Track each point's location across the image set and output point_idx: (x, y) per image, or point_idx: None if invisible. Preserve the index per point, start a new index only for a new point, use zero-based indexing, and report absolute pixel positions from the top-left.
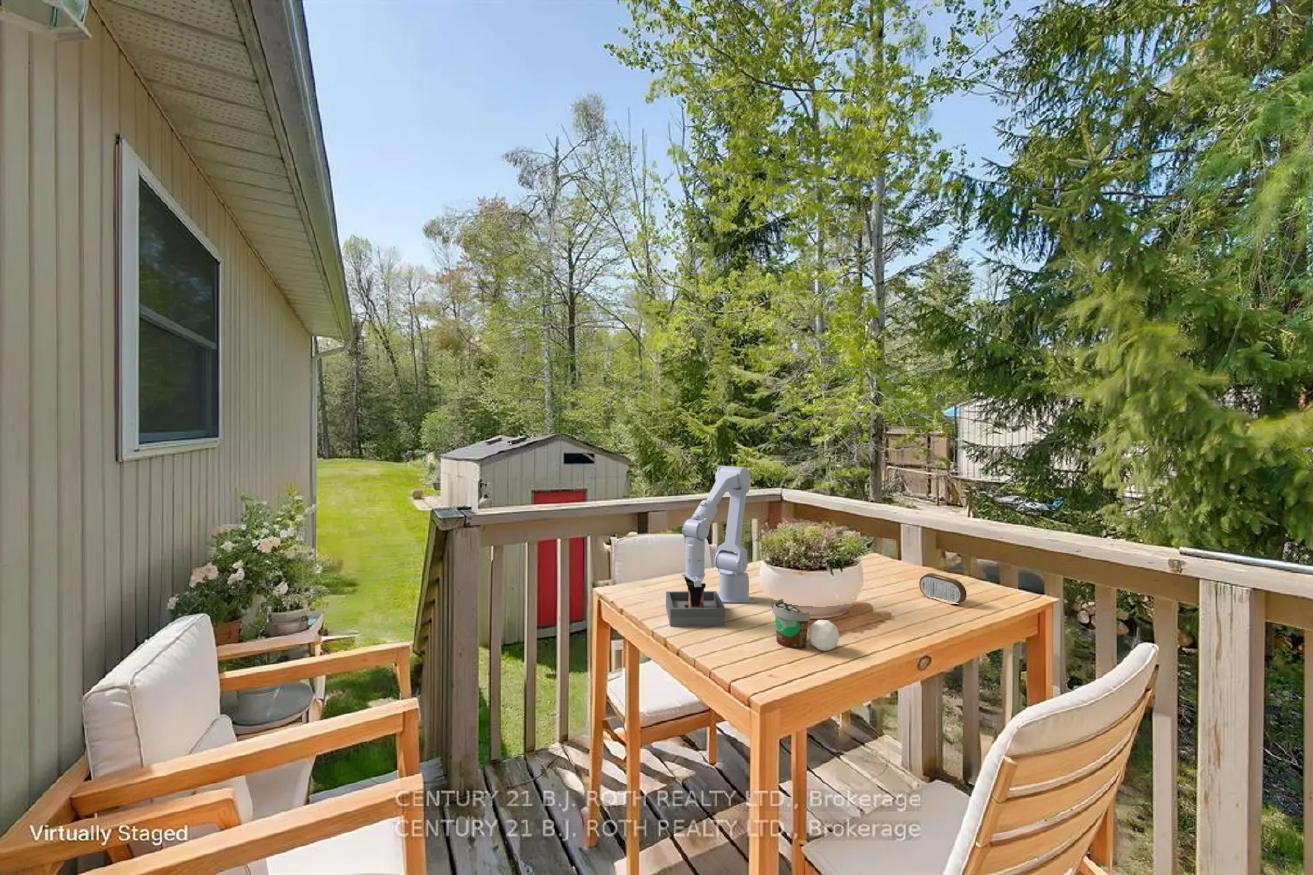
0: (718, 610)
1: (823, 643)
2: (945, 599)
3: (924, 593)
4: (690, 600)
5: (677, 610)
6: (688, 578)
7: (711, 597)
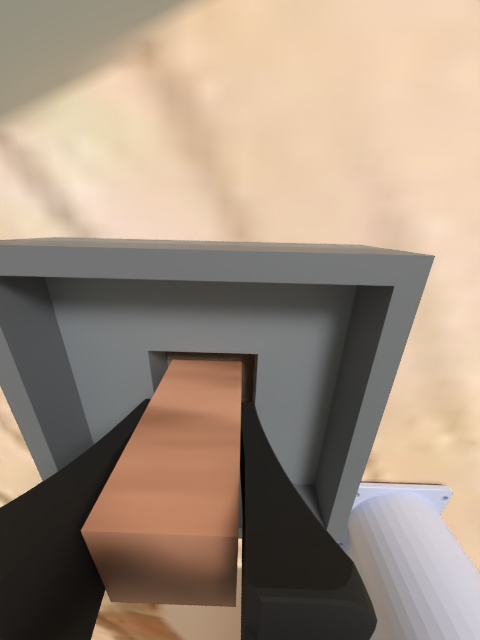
0: None
1: None
2: None
3: None
4: (143, 415)
5: None
6: (263, 629)
7: (318, 491)
